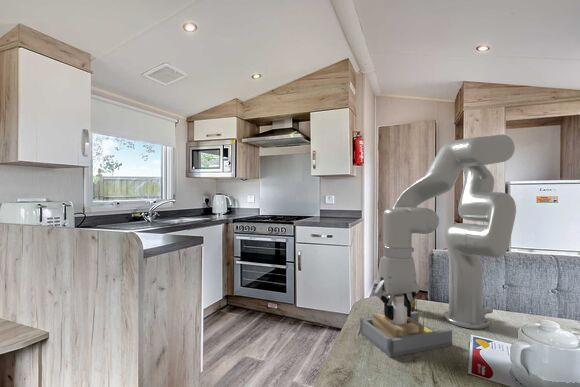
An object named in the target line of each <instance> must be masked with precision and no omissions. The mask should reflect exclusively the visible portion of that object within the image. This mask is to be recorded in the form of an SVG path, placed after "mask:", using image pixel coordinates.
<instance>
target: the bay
mask: <svg viewBox="0 0 580 387" xmlns="http://www.w3.org/2000/svg"><path fill="white" fill-rule="evenodd" d="M419 314H420V313H419V312H418V311H415V310H414V311H413V312H411V317H410V318H411V319H413V320H415V321H417V322H418V323H420V324H422V323H421V322H419V321H420V319H419V317H420V316H419ZM359 327H360V329H359V330H360V332H359V333H360V334H361V335H362V336H364V338H366V339H367V340H368V341H369V342H371V343H372V344H373V345H374V346H376V347H377V349H379V350H381V351H382V353H383V354H385V355H386V356H388V357H389V358H393V357H399V356H404V355H409V354H413V353H418V352H419V353H420V352H424V351H429V350H434V349H439V348H444V347H449V346H453V330H452V329H450V328H444V329H439V330H433V329H431V328H429V327H427V326H426V325H424V333H420V334H415V335H409V336H403V337H397V338H392V339H391V338H389V337H388V336H387V335H385V334H384V333H383V332H381V331H380V330H378V329H377V328H376V327H374V326H373V325H372V317H369V318H368V317H367V318H361V319H360V326H359Z"/></svg>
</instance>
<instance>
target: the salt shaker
mask: <svg viewBox="0 0 580 387" xmlns="http://www.w3.org/2000/svg"><path fill="white" fill-rule="evenodd" d="M391 305H393V307H394V319H393V320H390V319H389V322H391V323H392V324H394V325H400V324H407V307H405V306H404V295H403V294H397V295H394V296H393V300H392V304H391Z"/></svg>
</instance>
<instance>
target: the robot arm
mask: <svg viewBox="0 0 580 387" xmlns="http://www.w3.org/2000/svg"><path fill="white" fill-rule="evenodd" d="M515 146H516V145H515V141H513V139H512V138H511V137H510V136H509V135H507V134H502V133H501V134H496V135H487V136H486V135H484V136H483V135H482V136H474V137H469V138H463V139H456V140H452V141H451V140H450V141H448V142H446V143H444V144H443V145H442V146H441V147H440V149H439V151H438V153H437V154H436V155H435V157H434V159H433V161H432V162H431V165H430V166H429V167H428V170H427V171H426V173H425V174H424V176H423V177H421V178H420V179H418V180H417V181H415V182H414V183H413V184H411V185H410V186H409V187H408V188H406V189H405V190H404V191H403V192H402V193H401V194H400V195H399V197H398V199H397V200H396V202H395V203H394V205H393V207H392V208H387V209H384V212H383V213H382V214H383V216H382V222H383V224H382V228H383V230H382V234H383V235H382V236H383V237H382V238H383V249H382V250H383V253H382V254H383V256H381V257H380V259H379V264H378V271H377V272H378V273H377V286H376V288H375V289H374V291H373V295H375V296H376V297H377V298H378V299H379V300H380V301H381V302H382V303H383V304H384V305H383V306H384V307H383V313H384V314H385V317H387V318H388V319H390V320H393V319H394V307H393V305H392V300H393V296H394V295H397V294H403V295H404V306H405V307H407V317H411V303H412V302H413V298H414V297H415V298H416V296H417V294H418V293H419V291H420V290H421V287H420V285H419V284H418V283H417V272H416V266H415V261H414V257H413V254H412V253H414V251H415V249H414V248H415V247H413V246H412V242H413V241H412V237H413V236H412V234H420V235H428V234H431V233H432V234H433V232H435V231H436V230H437V229H438V228H439V224H440V219H439V216H438V214H437V213H436V211H434V210H433V209H432V208H426V207H419V206H420V205H421V204H422V203H424V202H426V201H428V200H430V199H433V198H436V197H438V196H441V195H444V194H446V193H447V192H450V191H451V190H452V189H453V187H454V185H455V183H456V181H457V180H458V178H459V175H460V174H461V172H462V171H463V174H464V183H463V186H462V190H461V194H460V199H459V203H458V206H457V207H458V208H457V212H458V215H459V217H460V218H461V219H463V220H465V221H471V222H480V223H487V224H476V223H467V222H466V223H465V222H459V223H458V222H456V223H453V224H451V225H450V226H448V228H447V229H446V231H445V244H446V248H447V253H448V310H446V311H445V312H443V319H444V320H446V321H447V322H448V323H450V324H452V325H455V326H458V327H461V328H467V329H472V330H473V329H475V330H479V329H480V330H482V329H486V328H488V327H489V325H490V324H489V320H488V318H486V315H488V314H492V313H493V312H494V309H493V308H492V307H491V306H488V307H487V306H486V307H484V306H483V305H484V298H483V297H484V282H483V281H484V268H483V265H482V262H481V260H480V259H479V257H478V256H480V257H487V258H490V259H491V258H492V259H499V258H502V257H504V256H505V254H507V252H508V249H509V246H510V242H511V238H512V233H513V229H514V224H515V220H516V215H517V204H516V202H515V200H514V198H513V196H512V195H510V194H509V193H507V192H498V191H495V192H494V186H495V178H494V176H493V173H492V172H491V171H490V170H489V169H488V168H487V166H488V165H493V164H500V163H504V162H507V161H509V160H510V159H511V158H512V157H513V155H514V154H515V150H516V147H515ZM486 165H487V166H486Z"/></svg>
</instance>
